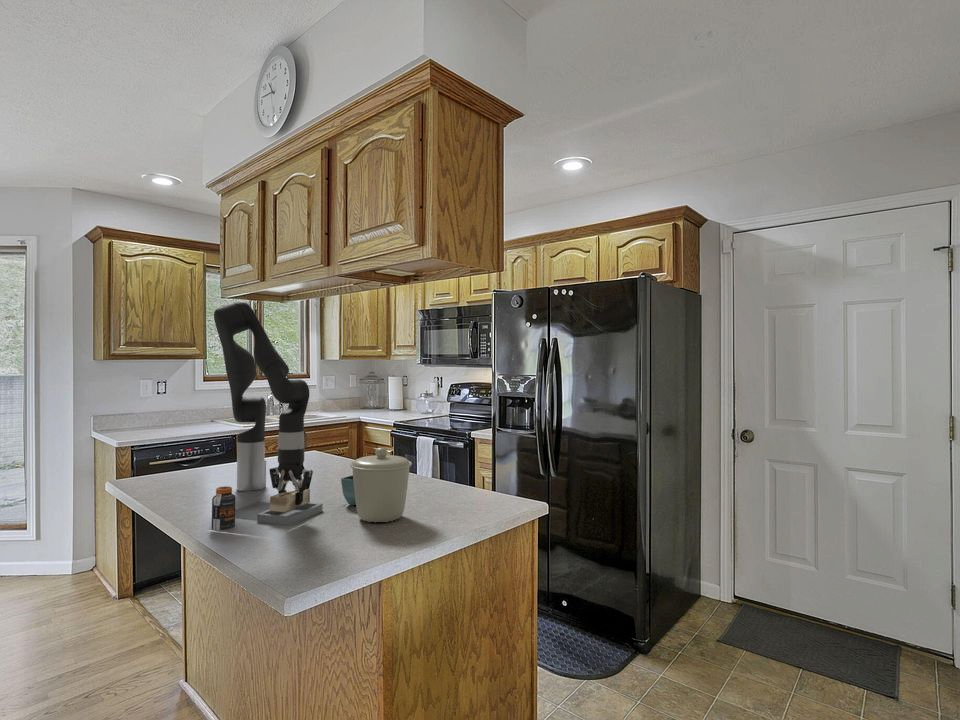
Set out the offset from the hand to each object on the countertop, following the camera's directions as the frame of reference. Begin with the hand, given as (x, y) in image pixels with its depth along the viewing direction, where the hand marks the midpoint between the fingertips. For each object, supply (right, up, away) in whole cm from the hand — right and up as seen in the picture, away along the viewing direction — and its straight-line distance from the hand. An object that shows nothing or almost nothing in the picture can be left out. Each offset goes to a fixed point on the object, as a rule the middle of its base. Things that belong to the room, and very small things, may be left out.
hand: (290, 503), depth 164 cm
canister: (+27, -5, 0) cm, 27 cm away
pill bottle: (-15, -4, -11) cm, 19 cm away
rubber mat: (-12, -4, +6) cm, 14 cm away
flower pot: (+17, -5, +16) cm, 24 cm away
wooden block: (0, -1, 0) cm, 1 cm away
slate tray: (0, -4, 0) cm, 4 cm away
